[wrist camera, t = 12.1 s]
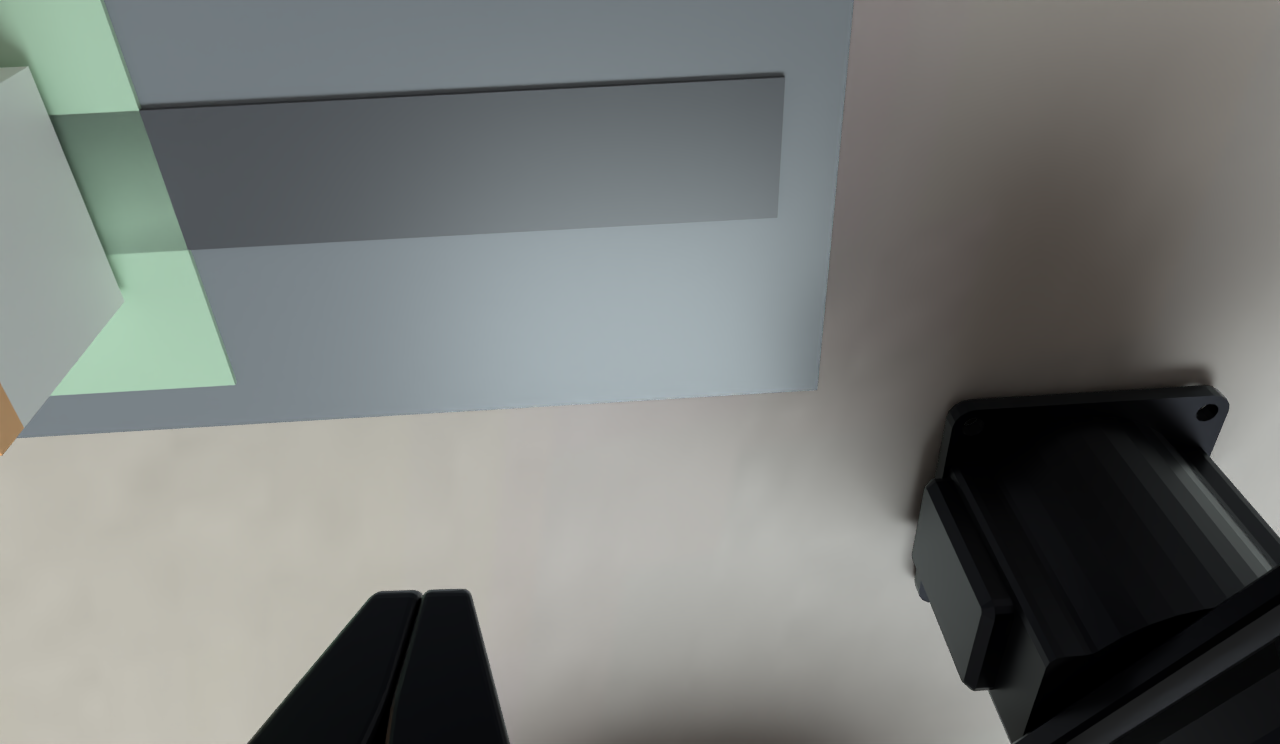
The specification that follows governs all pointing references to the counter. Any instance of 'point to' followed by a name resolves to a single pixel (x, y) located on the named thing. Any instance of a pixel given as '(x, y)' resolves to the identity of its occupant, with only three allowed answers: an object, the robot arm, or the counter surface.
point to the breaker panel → (441, 201)
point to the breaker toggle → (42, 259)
